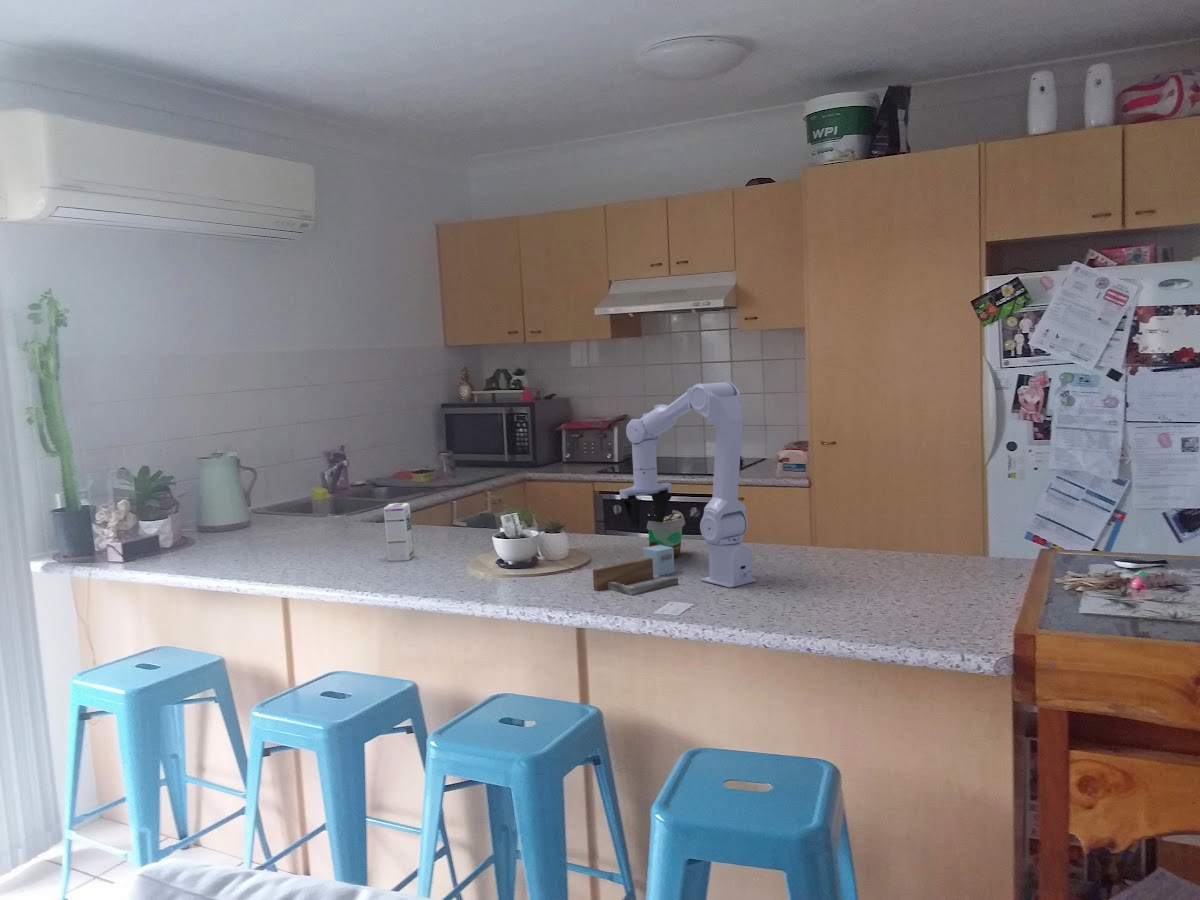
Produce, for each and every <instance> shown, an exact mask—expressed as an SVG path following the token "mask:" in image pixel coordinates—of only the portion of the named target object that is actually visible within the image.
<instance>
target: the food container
mask: <svg viewBox="0 0 1200 900" xmlns="http://www.w3.org/2000/svg"><path fill="white" fill-rule="evenodd" d="M685 525H686V520H685V517H684V514H683V513H682V512H680V511H679V510H674V509H672V511H671V513H670V514H669V515H664V520H663V522H656V520H655V521H652V520H647V524H646V530H648V541H649V543H648V544H649V546H648V547H651V546H656V545H663V546H668V547H672V548H673V549H674V557H676V558H678V557H679V556H681V547H682V534H683V527H684V526H685ZM677 556H678V557H677Z"/></svg>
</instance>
